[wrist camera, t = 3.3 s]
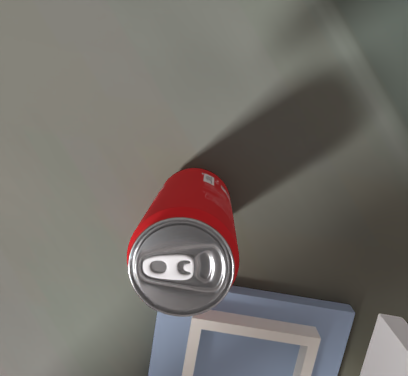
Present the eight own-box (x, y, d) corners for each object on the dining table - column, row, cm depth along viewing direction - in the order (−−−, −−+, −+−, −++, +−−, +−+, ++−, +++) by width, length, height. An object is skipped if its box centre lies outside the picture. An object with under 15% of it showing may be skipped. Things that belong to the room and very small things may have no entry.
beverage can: (228, 232, 28) (238, 323, 17) (161, 231, 28) (124, 320, 17) (230, 165, 27) (242, 213, 15) (160, 164, 27) (119, 211, 16)
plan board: (144, 409, 32) (137, 436, 30) (164, 274, 29) (159, 291, 27) (312, 436, 32) (321, 465, 30) (349, 304, 29) (362, 324, 27)
